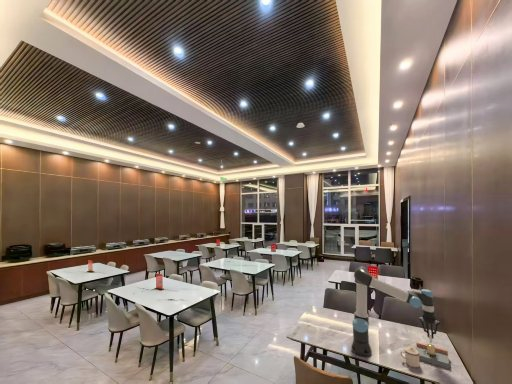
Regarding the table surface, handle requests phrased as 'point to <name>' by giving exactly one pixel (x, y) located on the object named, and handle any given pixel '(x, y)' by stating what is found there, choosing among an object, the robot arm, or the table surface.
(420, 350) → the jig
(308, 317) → the table surface
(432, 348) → the brass cylinder
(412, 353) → the teacup with lid
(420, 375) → the table surface
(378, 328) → the table surface
